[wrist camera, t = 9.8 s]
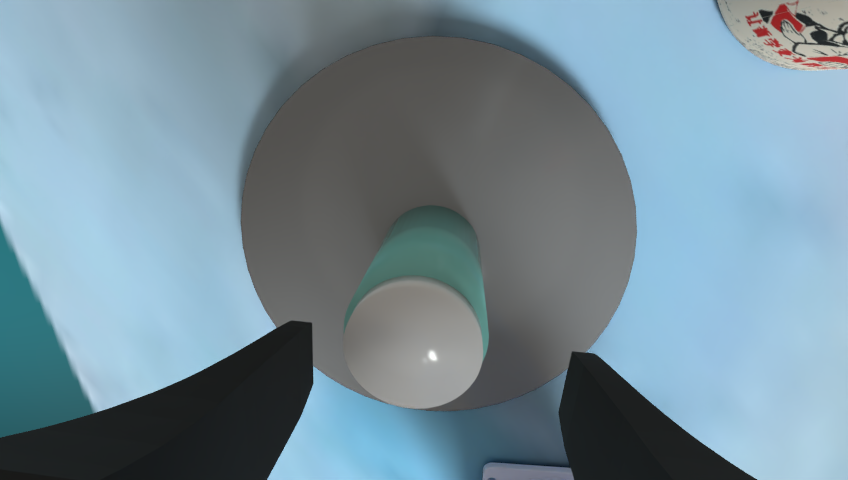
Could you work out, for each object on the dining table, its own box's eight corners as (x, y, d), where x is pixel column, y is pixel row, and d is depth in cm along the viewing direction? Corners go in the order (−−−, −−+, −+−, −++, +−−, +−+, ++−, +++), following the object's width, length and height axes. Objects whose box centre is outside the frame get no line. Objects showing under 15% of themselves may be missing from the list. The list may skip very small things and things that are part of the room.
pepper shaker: (480, 294, 20) (490, 415, 13) (388, 295, 21) (345, 413, 13) (479, 203, 19) (489, 279, 11) (380, 206, 19) (326, 281, 12)
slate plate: (600, 407, 23) (605, 421, 22) (273, 388, 24) (265, 400, 23) (661, 36, 17) (672, 33, 16) (224, 41, 18) (211, 38, 17)
